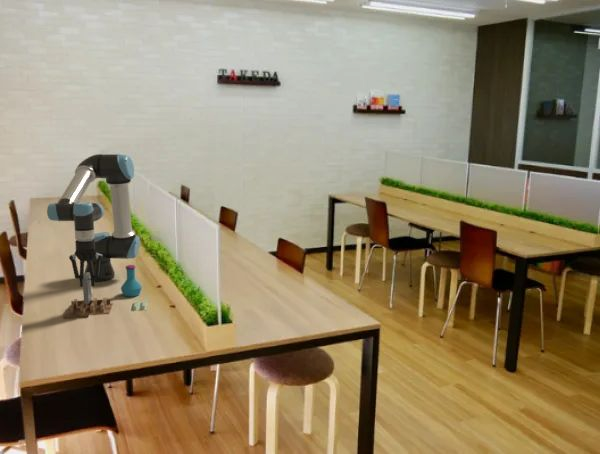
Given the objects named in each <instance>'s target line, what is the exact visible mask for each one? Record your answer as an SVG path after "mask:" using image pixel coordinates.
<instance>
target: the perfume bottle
mask: <svg viewBox="0 0 600 454" xmlns="http://www.w3.org/2000/svg"><path fill="white" fill-rule="evenodd" d="M135 269H136V266H135V264H128V265H126V266H125V270H126V280H125V281H124V282H123V284H122V285H121V286H120V290H121V293H122V295H123V296H125V297H127V298H128V297H130V298H134V297H137V296H139V295H141V291H142V288H143V287H142V285H141V284H140V282H139V281H138V280H137V279H136V274H135V273H136V271H135Z"/></svg>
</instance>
